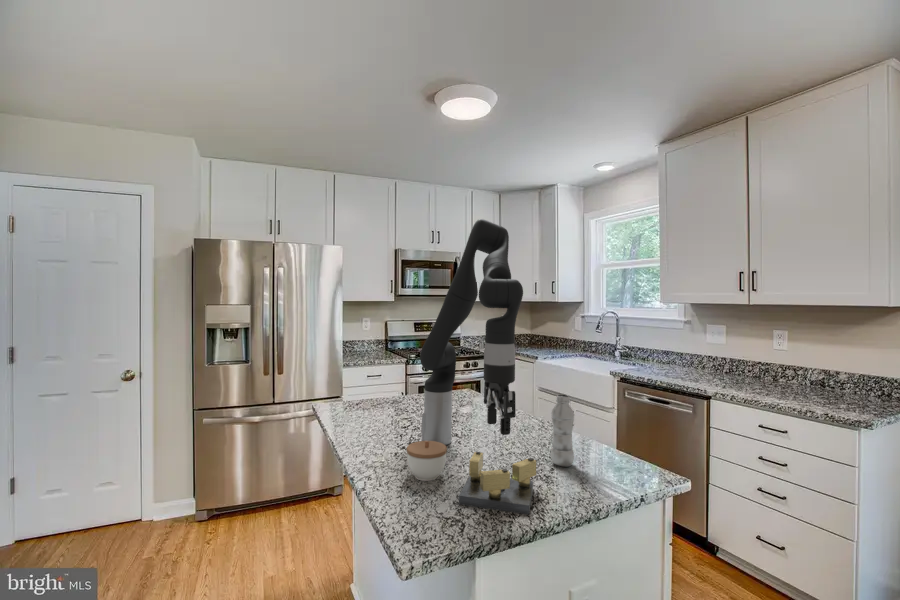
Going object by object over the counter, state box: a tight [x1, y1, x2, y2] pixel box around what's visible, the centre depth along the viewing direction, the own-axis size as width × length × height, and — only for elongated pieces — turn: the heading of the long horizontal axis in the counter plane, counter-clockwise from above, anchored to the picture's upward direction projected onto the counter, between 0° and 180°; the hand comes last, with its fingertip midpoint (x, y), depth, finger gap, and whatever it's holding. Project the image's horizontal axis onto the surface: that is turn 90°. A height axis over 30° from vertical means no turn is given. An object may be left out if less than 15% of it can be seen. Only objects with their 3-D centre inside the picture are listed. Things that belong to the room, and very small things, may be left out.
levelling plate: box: [458, 476, 534, 515], centre depth 101 cm, size 16×13×3 cm
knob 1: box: [468, 451, 484, 481], centre depth 106 cm, size 6×3×6 cm, turn 165°
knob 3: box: [511, 457, 537, 487], centre depth 103 cm, size 6×3×6 cm, turn 130°
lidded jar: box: [406, 440, 448, 482], centre depth 112 cm, size 11×11×9 cm
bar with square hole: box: [480, 468, 511, 498], centre depth 97 cm, size 6×3×6 cm, turn 105°
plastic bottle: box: [550, 393, 575, 468], centre depth 121 cm, size 6×7×20 cm
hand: (498, 428), depth 101 cm, fingers open, 8 cm apart
